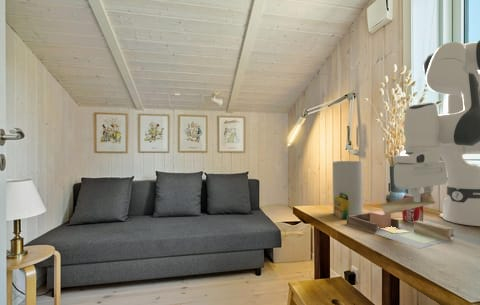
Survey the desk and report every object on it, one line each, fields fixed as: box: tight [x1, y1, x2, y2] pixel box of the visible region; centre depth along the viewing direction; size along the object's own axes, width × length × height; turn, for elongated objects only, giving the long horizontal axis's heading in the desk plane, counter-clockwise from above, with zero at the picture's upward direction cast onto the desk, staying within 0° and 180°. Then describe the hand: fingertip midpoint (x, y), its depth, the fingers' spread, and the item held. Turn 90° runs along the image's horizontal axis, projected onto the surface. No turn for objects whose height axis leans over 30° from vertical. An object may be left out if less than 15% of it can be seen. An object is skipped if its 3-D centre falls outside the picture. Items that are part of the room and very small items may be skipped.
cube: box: [370, 210, 392, 228], centre depth 97 cm, size 5×5×5 cm
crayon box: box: [333, 193, 349, 221], centre depth 111 cm, size 7×3×12 cm, turn 6°
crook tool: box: [380, 192, 436, 215], centre depth 84 cm, size 8×16×4 cm, turn 24°
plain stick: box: [413, 221, 452, 241], centre depth 87 cm, size 2×10×4 cm, turn 24°
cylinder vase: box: [332, 160, 364, 216], centre depth 119 cm, size 12×12×25 cm
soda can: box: [401, 193, 424, 224], centre depth 104 cm, size 7×7×12 cm
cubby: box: [346, 211, 400, 234], centre depth 98 cm, size 13×12×3 cm
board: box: [346, 221, 457, 249], centre depth 92 cm, size 19×28×2 cm
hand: (422, 201), depth 79 cm, fingers closed on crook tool, 2 cm apart
